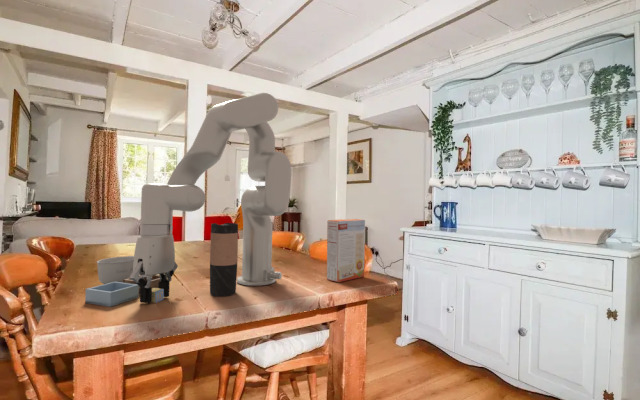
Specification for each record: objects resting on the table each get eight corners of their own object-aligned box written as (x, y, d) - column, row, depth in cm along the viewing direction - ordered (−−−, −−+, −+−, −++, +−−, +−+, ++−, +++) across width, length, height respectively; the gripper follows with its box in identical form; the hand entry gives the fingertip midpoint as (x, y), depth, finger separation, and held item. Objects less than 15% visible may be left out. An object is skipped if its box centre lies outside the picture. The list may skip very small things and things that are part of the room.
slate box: (138, 297, 92) (138, 284, 92) (110, 306, 84) (110, 292, 84) (114, 294, 94) (115, 281, 94) (85, 302, 86) (85, 288, 86)
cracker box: (352, 274, 127) (353, 218, 127) (364, 277, 123) (366, 219, 123) (325, 279, 118) (326, 219, 118) (337, 283, 114) (339, 220, 113)
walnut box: (168, 287, 102) (168, 276, 102) (146, 295, 94) (146, 282, 94) (146, 285, 105) (146, 273, 105) (122, 291, 97) (123, 279, 97)
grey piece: (118, 290, 98) (119, 262, 98) (87, 287, 101) (87, 260, 101) (151, 279, 112) (152, 255, 112) (123, 276, 114) (123, 253, 114)
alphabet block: (155, 303, 88) (155, 291, 88) (145, 302, 88) (145, 290, 88) (164, 300, 91) (164, 288, 91) (154, 298, 91) (154, 287, 91)
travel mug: (229, 297, 94) (231, 225, 94) (203, 295, 95) (205, 224, 95) (240, 290, 101) (242, 223, 101) (217, 288, 103) (218, 222, 102)
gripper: (169, 227, 99) (167, 289, 99) (117, 232, 83) (115, 307, 83) (190, 228, 96) (188, 292, 96) (141, 234, 80) (139, 311, 80)
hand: (154, 298), depth 90 cm, fingers open, 5 cm apart
